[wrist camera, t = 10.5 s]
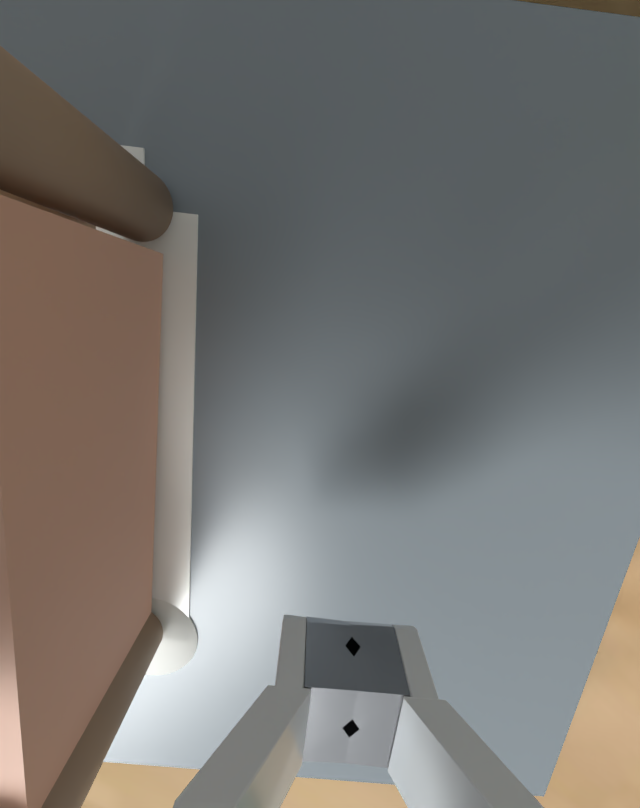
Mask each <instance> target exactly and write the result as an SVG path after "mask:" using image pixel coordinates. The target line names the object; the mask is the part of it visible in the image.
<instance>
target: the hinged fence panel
mask: <svg viewBox="0 0 640 808" xmlns="http://www.w3.org/2000/svg"><path fill="white" fill-rule="evenodd" d="M0 190H2V191H5V192H8V193H10V194H13V195H16V196H18V197H21V198H23V199H26V200H29V201H31V202H34V203H37V204H39V205H42V206H44V207H47V208H50V209H52V210H55V211H58V212H60V213H63V214H66V215H68V216H71V217H73V218H76V219H79V220H81V221H84V222H87V223H89V224H92V225H95V226H97V227H100V228H102V229H105V230H108V231H110V232H113V233H116V234H118V235H121V236H123V237H126V238H129V239H131V240H134V241H139V242H148V241H152V240H155V239H157V238H159V237H160V236H161V235H163V234H164V233H165V232H166V230H167V229H168V227H169V225H170V223H171V220H172V216H173V202H172V198H171V195H170V192H169V190H168V188H167V186H166V185H165V183H164V182H163V181H162V180H161V179H160V178H159V177H158V176H157V175H156V174H154V173H153V172H152V171H151V170H150V169H148V168H147V167H146V166H145V165H144V164H142V163H141V162H140V161H139V160H138V159H136V158H135V157H134V156H133V155H132V154H130V153H129V152H128V151H127V150H125V149H124V148H123V147H122V146H121V145H119V144H118V143H117V142H116V141H115V140H113V139H112V138H111V137H110V136H109V135H107V134H106V133H105V132H104V131H103V130H101V129H100V128H99V127H98V126H97V125H95V124H94V123H93V122H92V121H91V120H89V119H88V118H87V117H86V116H84V115H83V114H82V113H81V112H80V111H78V110H77V109H76V108H75V107H74V106H72V105H71V104H70V103H69V102H68V101H66V100H65V99H64V98H63V97H62V96H60V95H59V94H58V93H57V92H56V91H54V90H53V89H52V88H51V87H50V86H48V85H47V84H46V83H45V82H44V81H42V80H41V79H40V78H39V77H37V76H36V75H35V74H34V73H33V72H31V71H30V70H29V69H28V68H27V67H25V66H24V65H23V64H22V63H21V62H19V61H18V60H17V59H16V58H15V57H13V56H12V55H11V54H10V53H9V52H7V51H6V50H5V49H4V48H3V47H1V46H0ZM162 277H163V254H162V253H159V252H156V251H154V250H151V249H148V248H146V247H143V246H140V245H137V244H135V243H132V242H129V241H126V240H124V239H121V238H118V237H115V236H113V235H110V234H107V233H104V232H102V231H99V230H96V229H93V228H91V227H88V226H85V225H82V224H80V223H77V222H74V221H71V220H69V219H66V218H63V217H61V216H58V215H55V214H52V213H50V212H47V211H44V210H41V209H39V208H36V207H33V206H30V205H28V204H25V203H22V202H19V201H17V200H14V199H11V198H8V197H6V196H3V195H0V808H81V806H82V804H83V802H84V800H85V798H86V796H87V794H88V792H89V790H90V788H91V786H92V784H93V781H94V779H95V777H96V775H97V773H98V771H99V769H100V767H101V765H102V763H103V761H104V759H105V757H106V755H107V753H108V750H109V748H110V746H111V744H112V742H113V740H114V738H115V736H116V734H117V732H118V730H119V728H120V726H121V724H122V721H123V719H124V717H125V715H126V713H127V711H128V709H129V707H130V705H131V703H132V701H133V699H134V697H135V695H136V692H137V690H138V688H139V686H140V684H141V682H142V680H143V678H144V676H145V674H146V672H147V670H148V668H149V666H150V663H151V661H152V659H153V657H154V655H155V653H156V651H157V649H158V647H159V645H160V643H161V641H162V638H163V628H162V625H161V622H160V621H159V619H158V618H157V617H156V616H155V615H154V614H153V613H152V612H151V608H152V578H153V548H154V518H155V488H156V458H157V428H158V398H159V367H160V337H161V307H162Z"/></svg>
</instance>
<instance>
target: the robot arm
mask: <svg viewBox="0 0 640 808" xmlns="http://www.w3.org/2000/svg"><path fill="white" fill-rule="evenodd" d="M302 762H324V763H346V764H355V765H363V766H372V767H381V768H388V773H389V774H390V776H391V778H392V780H393V782H394V783H395V785H396V787H397V789H398V791H399V792H400V794H401V796H402V798H403V800H404V801H405V803H406V805H407V807H408V808H544V807H543V806H542V805H541V804H540V803H539V802H538V801H537V800H536V798H535V797H534V796H533V795H532V794H531V793H530V792H529V791H528V790H527V789H526V787H525V786H524V785H523V784H522V783H521V782H520V781H519V780H518V779H517V778H516V776H515V775H514V774H513V773H512V772H511V771H510V770H509V769H508V768H507V767H506V765H505V764H504V763H503V762H502V761H501V760H500V759H499V758H498V757H497V756H496V754H495V753H494V752H493V751H492V750H491V749H490V748H489V747H488V746H487V744H486V743H485V742H484V741H483V740H482V739H481V738H480V737H479V736H478V735H477V733H476V732H475V731H474V730H473V729H472V728H471V727H470V726H469V725H468V724H467V722H466V721H465V720H464V719H463V718H462V717H461V716H460V715H459V714H458V713H457V711H456V710H455V709H454V708H453V707H452V706H451V705H450V704H449V703H448V702H447V700H441V699H439V698H438V695H437V691H436V688H435V685H434V682H433V679H432V676H431V672H430V669H429V666H428V663H427V660H426V657H425V653H424V650H423V647H422V644H421V641H420V638H419V634H418V631H417V629H416V628H415V627H414V626H407V625H394V624H392V625H391V624H380V623H367V622H354V621H341V620H332V619H324V618H315V617H302V616H294V615H286V614H284V617H283V622H282V630H281V639H280V647H279V656H278V664H277V673H276V681H275V686H274V685H268V686H267V687H266V688H265V689H264V691H263V692H262V693H261V694H260V696H259V697H258V698H257V699H256V701H255V702H254V703H253V704H252V706H251V707H250V708H249V709H248V711H247V712H246V713H245V714H244V716H243V717H242V718H241V719H240V720H239V722H238V723H237V724H236V725H235V727H234V728H233V729H232V730H231V732H230V733H229V734H228V735H227V737H226V738H225V739H224V740H223V742H222V743H221V744H220V745H219V747H218V748H217V749H216V750H215V752H214V753H213V754H212V755H211V757H210V758H209V759H208V760H207V762H206V763H205V764H204V765H203V767H202V768H201V769H200V770H199V772H198V773H197V774H196V775H195V777H194V778H193V779H192V780H191V782H190V783H189V784H188V785H187V787H186V788H185V789H184V790H183V792H182V793H181V794H180V795H179V797H178V798H177V799H176V800H175V803H174V806H173V808H280V806H281V804H282V803H283V801H284V799H285V797H286V795H287V793H288V791H289V789H290V787H291V785H292V783H293V781H294V779H295V777H296V775H297V773H298V771H299V769H300V767H301V766H302Z"/></svg>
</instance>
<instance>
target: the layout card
mask: <svg viewBox="0 0 640 808" xmlns="http://www.w3.org/2000/svg"><path fill="white" fill-rule="evenodd" d="M0 46H1V47H3V48H4V49H5V50H6V51H7V52H9V53H10V54H11V55H12V56H13V57H15V58H16V59H17V60H18V61H19V62H21V63H22V64H23V65H24V66H25V67H27V68H28V69H29V70H30V71H31V72H33V73H34V74H35V75H36V76H37V77H39V78H40V79H41V80H42V81H44V82H45V83H46V84H47V85H48V86H50V87H51V88H52V89H53V90H54V91H56V92H57V93H58V94H59V95H60V96H62V97H63V98H64V99H65V100H66V101H68V102H69V103H70V104H71V105H72V106H74V107H75V108H76V109H77V110H78V111H80V112H81V113H82V114H83V115H84V116H86V117H87V118H88V119H89V120H91V121H92V122H93V123H94V124H95V125H97V126H98V127H99V128H100V129H101V130H103V131H104V132H105V133H106V134H107V135H109V136H110V137H111V138H112V139H113V140H115V141H116V142H117V143H118V144H119V145H121V146H122V147H123V148H124V149H125V150H127V151H128V152H129V153H130V154H132V155H133V156H134V157H135V158H136V159H138V160H139V161H140V162H141V163H142V164H144V165H145V166H146V167H147V168H148V169H150V170H151V171H152V172H153V173H154V174H156V175H157V176H158V177H159V178H160V179H161V180H162V181H163V182H164V183H165V185H166V186H167V188H168V190H169V192H170V195H171V198H172V202H173V216H172V220H171V223H170V225H169V227H168V229H167V230H166V232H165V233H164V234H163V235H161V236H160V237H159V238H157V239H155V240H152V241H148V242H139V241H134V240H131V239H129V238H126V237H123V236H121V235H118V234H116V233H113V232H110V231H108V230H105V229H102V228H100V227H97V226H96V230H99V231H102V232H104V233H107V234H110V235H113V236H115V237H118V238H121V239H124V240H126V241H129V242H132V243H135V244H137V245H140V246H143V247H146V248H148V249H151V250H154V251H156V252H159V253H162V254H163V277H162V307H161V337H160V367H159V398H158V428H157V458H156V488H155V518H154V548H153V578H152V608H151V612H152V613H153V614H154V615H155V616H156V617H157V618H158V619H159V621H160V622H161V625H162V628H163V638H162V641H161V643H160V645H159V647H158V649H157V651H156V653H155V655H154V657H153V659H152V661H151V663H150V666H149V668H148V670H147V672H146V674H145V676H144V678H143V680H142V682H141V684H140V686H139V688H138V690H137V692H136V695H135V697H134V699H133V701H132V703H131V705H130V707H129V709H128V711H127V713H126V715H125V717H124V719H123V721H122V724H121V726H120V728H119V730H118V732H117V734H116V736H115V738H114V740H113V742H112V744H111V746H110V748H109V750H108V753H107V755H106V757H105V759H104V761H103V762H113V763H126V764H139V765H151V766H164V767H177V768H190V769H201V768H202V767H203V765H204V764H205V763H206V762H207V760H208V759H209V758H210V757H211V755H212V754H213V753H214V752H215V750H216V749H217V748H218V747H219V745H220V744H221V743H222V742H223V740H224V739H225V738H226V737H227V735H228V734H229V733H230V732H231V730H232V729H233V728H234V727H235V725H236V724H237V723H238V722H239V720H240V719H241V718H242V717H243V716H244V714H245V713H246V712H247V711H248V709H249V708H250V707H251V706H252V704H253V703H254V702H255V701H256V699H257V698H258V697H259V696H260V694H261V693H262V692H263V691H264V689H265V688H266V687H267V686H268V685H274V686H275V681H276V673H277V664H278V656H279V647H280V639H281V630H282V622H283V617H284V614H286V615H294V616H302V617H315V618H324V619H332V620H341V621H354V622H367V623H380V624H391V625H392V624H394V625H407V626H414V627H415V628H416V629H417V631H418V634H419V638H420V641H421V644H422V647H423V650H424V653H425V657H426V660H427V663H428V666H429V669H430V672H431V676H432V679H433V682H434V685H435V688H436V691H437V695H438V698H439V699H441V700H447V702H448V703H449V704H450V705H451V706H452V707H453V708H454V709H455V710H456V711H457V713H458V714H459V715H460V716H461V717H462V718H463V719H464V720H465V721H466V722H467V724H468V725H469V726H470V727H471V728H472V729H473V730H474V731H475V732H476V733H477V735H478V736H479V737H480V738H481V739H482V740H483V741H484V742H485V743H486V744H487V746H488V747H489V748H490V749H491V750H492V751H493V752H494V753H495V754H496V756H497V757H498V758H499V759H500V760H501V761H502V762H503V763H504V764H505V765H506V767H507V768H508V769H509V770H510V771H511V772H512V773H513V774H514V775H515V776H516V778H517V779H518V780H519V781H520V782H521V783H522V784H523V785H524V786H525V787H526V789H527V790H528V791H529V792H530V793H531V794H532V795H534V796H544V795H545V792H546V789H547V787H548V784H549V781H550V779H551V776H552V773H553V770H554V768H555V765H556V762H557V760H558V757H559V754H560V751H561V749H562V746H563V743H564V741H565V738H566V735H567V732H568V730H569V727H570V724H571V721H572V719H573V716H574V713H575V711H576V708H577V705H578V702H579V700H580V697H581V694H582V692H583V689H584V686H585V683H586V681H587V678H588V675H589V673H590V670H591V667H592V664H593V662H594V659H595V656H596V654H597V651H598V648H599V645H600V643H601V640H602V637H603V635H604V632H605V629H606V626H607V624H608V621H609V618H610V616H611V613H612V610H613V607H614V605H615V602H616V599H617V597H618V594H619V591H620V588H621V586H622V583H623V580H624V577H625V575H626V572H627V569H628V567H629V564H630V561H631V558H632V556H633V553H634V550H635V548H636V545H637V542H638V539H639V537H640V17H635V16H628V15H620V14H613V13H605V12H598V11H590V10H583V9H575V8H568V7H560V6H553V5H545V4H538V3H530V2H523V1H515V0H0ZM296 777H305V778H317V779H330V780H343V781H356V782H368V783H381V784H394V785H395V783H394V782H393V780H392V778H391V776H390V774H389V773H388V768H381V767H372V766H363V765H355V764H346V763H324V762H302V766H301V767H300V769H299V771H298V773H297V775H296Z"/></svg>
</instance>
